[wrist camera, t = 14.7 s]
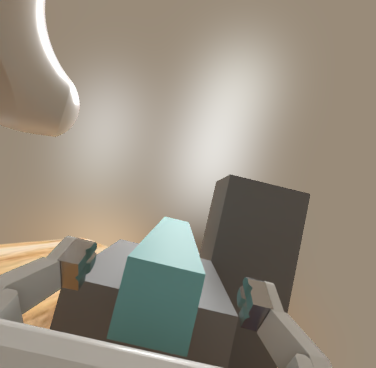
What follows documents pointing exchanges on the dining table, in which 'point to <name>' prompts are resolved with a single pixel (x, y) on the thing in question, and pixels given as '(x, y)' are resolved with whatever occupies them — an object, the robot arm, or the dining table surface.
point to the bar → (160, 290)
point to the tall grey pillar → (209, 273)
